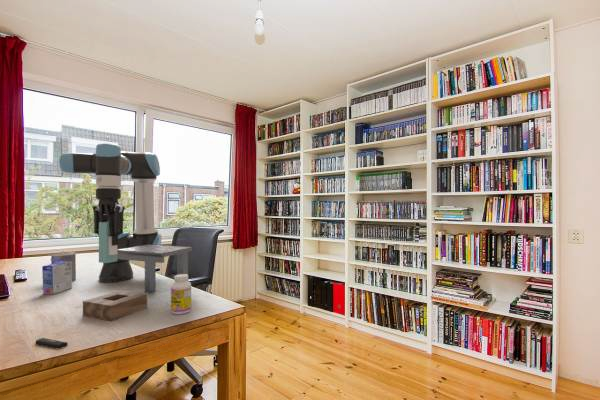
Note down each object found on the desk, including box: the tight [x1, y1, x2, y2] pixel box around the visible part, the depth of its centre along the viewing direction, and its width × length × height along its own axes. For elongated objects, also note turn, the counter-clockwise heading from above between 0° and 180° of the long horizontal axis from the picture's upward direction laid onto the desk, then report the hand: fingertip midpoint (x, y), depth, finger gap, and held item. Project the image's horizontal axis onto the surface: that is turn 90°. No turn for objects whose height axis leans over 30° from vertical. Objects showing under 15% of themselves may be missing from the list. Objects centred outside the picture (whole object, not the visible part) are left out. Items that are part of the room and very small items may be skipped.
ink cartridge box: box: [41, 258, 73, 295], centre depth 135 cm, size 10×6×14 cm, turn 174°
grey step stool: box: [117, 244, 193, 293], centre depth 125 cm, size 24×16×20 cm, turn 69°
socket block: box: [82, 289, 148, 322], centre depth 109 cm, size 14×14×5 cm
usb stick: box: [35, 337, 68, 350], centre depth 83 cm, size 10×3×2 cm, turn 72°
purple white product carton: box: [50, 251, 77, 282], centre depth 152 cm, size 10×10×15 cm
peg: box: [98, 221, 117, 264], centre depth 108 cm, size 4×4×14 cm
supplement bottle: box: [170, 274, 192, 316], centre depth 108 cm, size 7×7×13 cm
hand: (108, 254), depth 108 cm, fingers closed on peg, 4 cm apart
